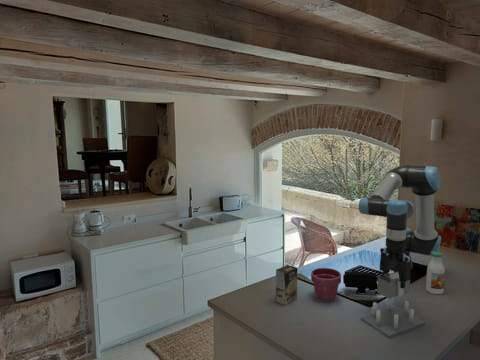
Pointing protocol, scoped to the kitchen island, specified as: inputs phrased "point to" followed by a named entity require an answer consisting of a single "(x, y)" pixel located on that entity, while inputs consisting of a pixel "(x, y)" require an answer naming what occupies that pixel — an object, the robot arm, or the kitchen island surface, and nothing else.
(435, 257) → the milk bottle
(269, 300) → the kitchen island surface
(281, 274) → the coffee box
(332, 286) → the plant pot
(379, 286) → the grey block
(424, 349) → the kitchen island surface
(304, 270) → the kitchen island surface
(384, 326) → the tray
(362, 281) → the security camera
